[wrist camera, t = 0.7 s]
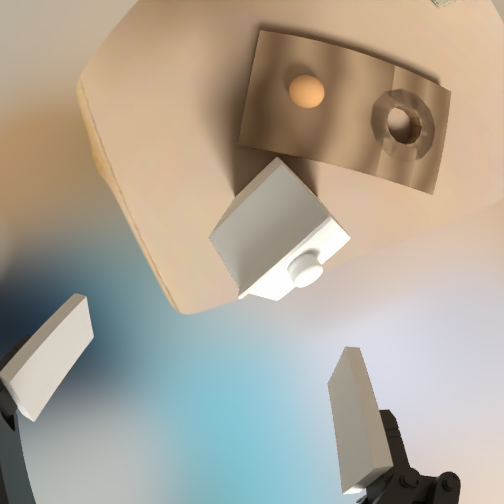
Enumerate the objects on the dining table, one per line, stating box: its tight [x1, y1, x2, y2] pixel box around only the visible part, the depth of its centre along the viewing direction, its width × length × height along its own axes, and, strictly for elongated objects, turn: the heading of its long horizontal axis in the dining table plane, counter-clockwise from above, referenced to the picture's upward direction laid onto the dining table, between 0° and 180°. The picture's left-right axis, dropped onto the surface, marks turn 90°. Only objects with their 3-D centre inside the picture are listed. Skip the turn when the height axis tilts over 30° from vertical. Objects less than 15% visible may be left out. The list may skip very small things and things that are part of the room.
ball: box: [289, 75, 324, 108], centre depth 25 cm, size 4×4×4 cm
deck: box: [238, 30, 451, 195], centre depth 28 cm, size 24×14×2 cm, turn 80°
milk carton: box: [209, 157, 350, 300], centre depth 25 cm, size 7×7×19 cm
